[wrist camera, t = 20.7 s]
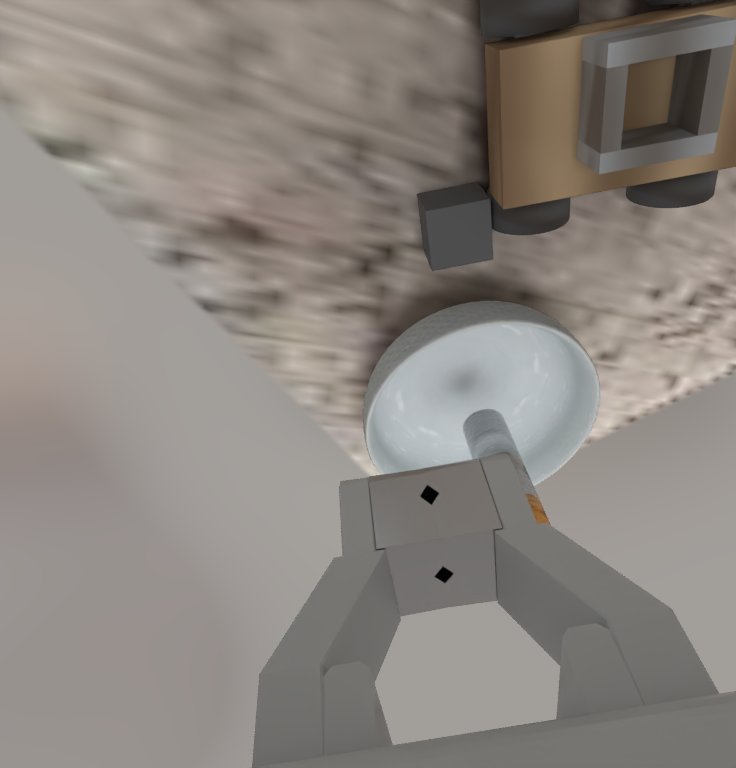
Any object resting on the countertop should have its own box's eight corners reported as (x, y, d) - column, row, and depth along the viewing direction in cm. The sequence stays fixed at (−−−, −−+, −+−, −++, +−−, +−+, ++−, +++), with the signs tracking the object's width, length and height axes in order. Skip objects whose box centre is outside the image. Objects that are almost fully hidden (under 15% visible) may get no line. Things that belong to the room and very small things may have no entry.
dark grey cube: (477, 181, 38) (490, 198, 36) (480, 238, 41) (492, 259, 38) (416, 193, 39) (425, 211, 36) (423, 249, 41) (432, 271, 38)
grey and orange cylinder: (504, 405, 40) (553, 515, 32) (505, 438, 42) (551, 550, 34) (461, 412, 40) (499, 523, 32) (463, 445, 42) (500, 558, 34)
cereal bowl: (440, 476, 54) (456, 537, 48) (313, 369, 46) (314, 427, 40) (603, 369, 48) (643, 424, 43) (491, 226, 40) (522, 269, 34)
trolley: (724, -60, 32) (849, -67, 24) (687, 174, 39) (774, 222, 32) (469, -10, 32) (516, -3, 25) (480, 212, 40) (519, 268, 32)
